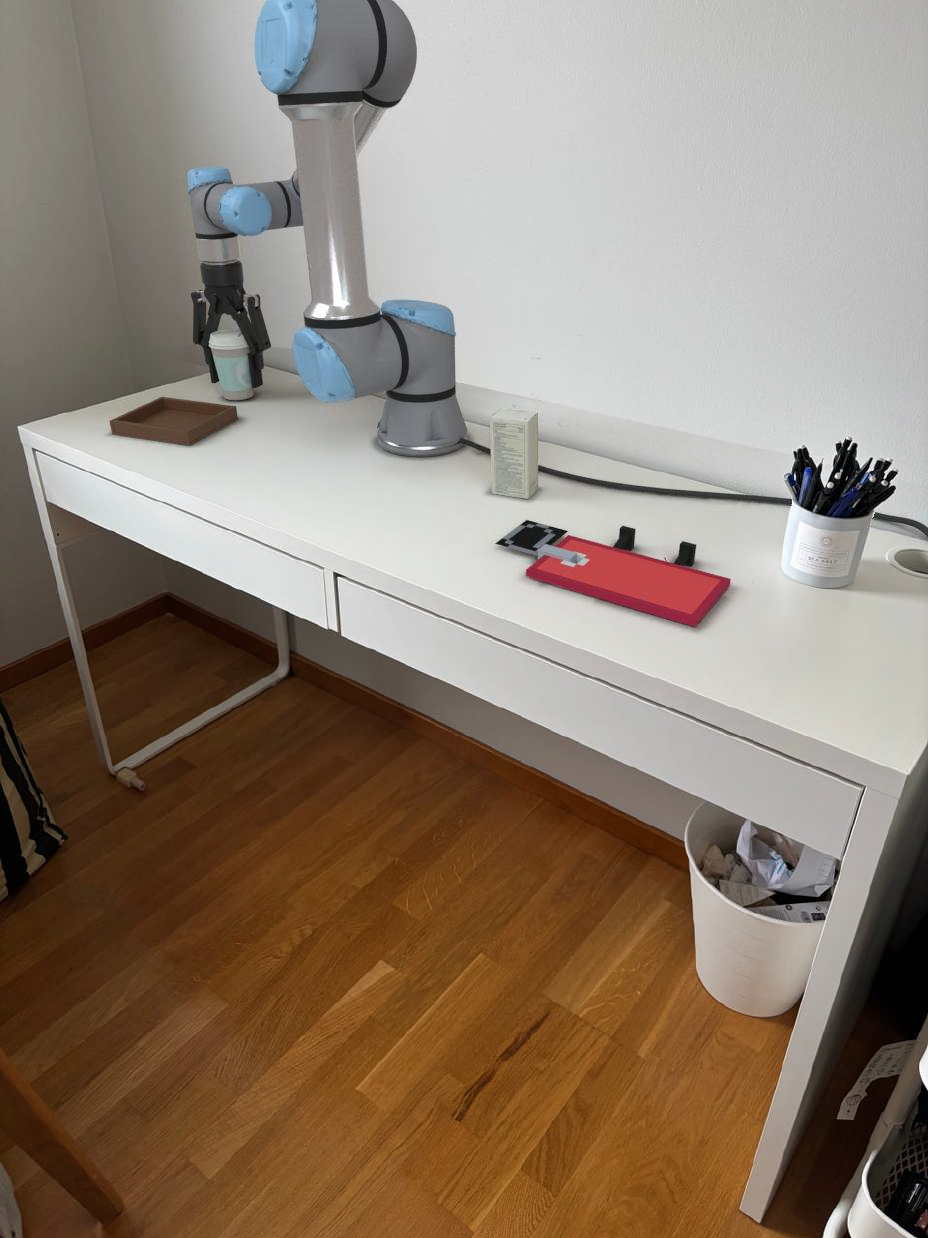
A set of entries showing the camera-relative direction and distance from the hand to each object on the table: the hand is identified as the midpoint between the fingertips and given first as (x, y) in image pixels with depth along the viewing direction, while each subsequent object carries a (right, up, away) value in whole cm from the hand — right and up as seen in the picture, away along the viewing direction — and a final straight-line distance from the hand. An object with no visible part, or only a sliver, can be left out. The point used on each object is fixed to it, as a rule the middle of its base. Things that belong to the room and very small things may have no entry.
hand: (237, 383), depth 185 cm
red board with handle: (+62, -40, -63) cm, 97 cm away
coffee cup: (0, -2, +1) cm, 3 cm away
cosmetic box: (+52, -27, -40) cm, 71 cm away
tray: (-8, -11, -13) cm, 19 cm away
